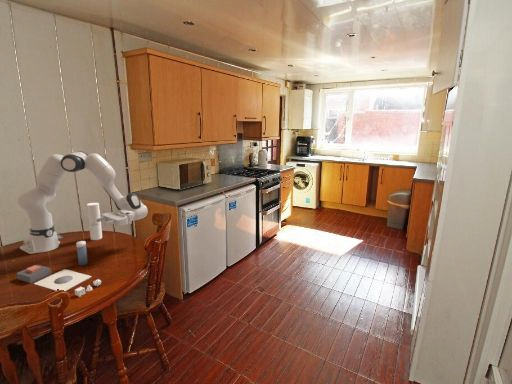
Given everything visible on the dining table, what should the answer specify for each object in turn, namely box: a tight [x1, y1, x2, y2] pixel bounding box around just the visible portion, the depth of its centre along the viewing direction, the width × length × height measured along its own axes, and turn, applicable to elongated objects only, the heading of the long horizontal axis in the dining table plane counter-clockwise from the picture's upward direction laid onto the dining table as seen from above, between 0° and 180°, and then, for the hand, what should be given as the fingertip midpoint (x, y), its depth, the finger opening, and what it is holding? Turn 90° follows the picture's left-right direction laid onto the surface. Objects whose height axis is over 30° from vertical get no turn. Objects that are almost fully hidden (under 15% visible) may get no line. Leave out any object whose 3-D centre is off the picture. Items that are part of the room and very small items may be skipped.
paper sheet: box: [33, 268, 92, 292], centre depth 145 cm, size 20×16×1 cm
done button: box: [26, 264, 41, 274], centre depth 147 cm, size 4×4×3 cm
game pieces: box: [74, 278, 102, 297], centre depth 137 cm, size 12×3×3 cm, turn 155°
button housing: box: [16, 264, 52, 284], centre depth 147 cm, size 10×10×4 cm
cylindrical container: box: [86, 202, 103, 241], centre depth 197 cm, size 7×7×25 cm
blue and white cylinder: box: [75, 240, 89, 266], centre depth 161 cm, size 5×5×13 cm
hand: (101, 222), depth 168 cm, fingers open, 8 cm apart
